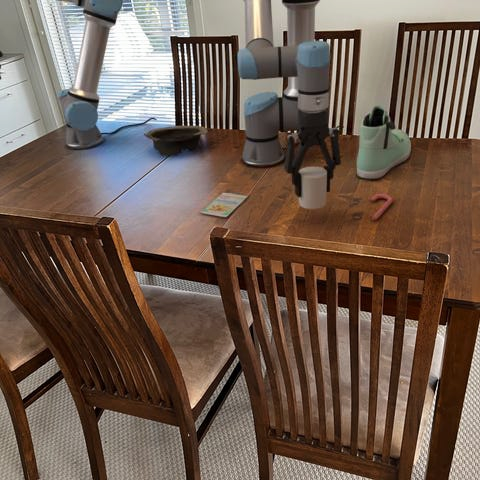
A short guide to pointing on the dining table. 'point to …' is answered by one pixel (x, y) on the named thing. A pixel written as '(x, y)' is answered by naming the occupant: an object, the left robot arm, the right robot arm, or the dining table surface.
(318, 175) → the canister
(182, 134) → the stone bowl
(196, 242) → the dining table surface
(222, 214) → the baking ingredient package
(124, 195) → the dining table surface
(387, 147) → the sneaker
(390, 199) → the candy cane
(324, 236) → the dining table surface
